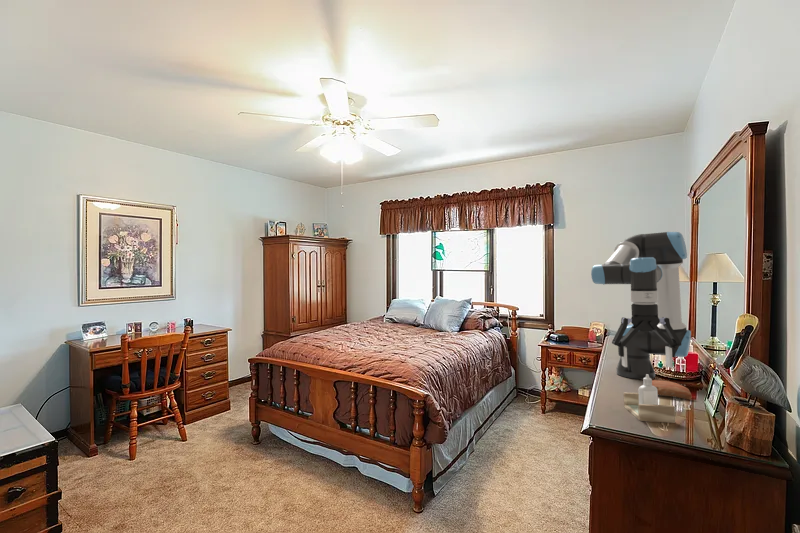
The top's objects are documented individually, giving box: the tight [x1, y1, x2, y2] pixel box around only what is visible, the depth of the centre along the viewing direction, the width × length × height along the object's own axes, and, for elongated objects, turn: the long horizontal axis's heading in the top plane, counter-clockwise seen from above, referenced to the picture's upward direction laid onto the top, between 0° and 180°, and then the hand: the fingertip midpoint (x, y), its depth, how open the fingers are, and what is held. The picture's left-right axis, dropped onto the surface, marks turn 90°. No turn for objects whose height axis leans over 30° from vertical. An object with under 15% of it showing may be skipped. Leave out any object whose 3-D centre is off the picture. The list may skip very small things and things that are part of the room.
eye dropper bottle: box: [638, 374, 659, 405], centre depth 127 cm, size 4×6×12 cm
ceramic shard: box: [652, 379, 692, 401], centre depth 149 cm, size 15×6×15 cm
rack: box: [623, 392, 676, 424], centre depth 127 cm, size 13×10×5 cm
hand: (646, 366), depth 127 cm, fingers open, 13 cm apart
